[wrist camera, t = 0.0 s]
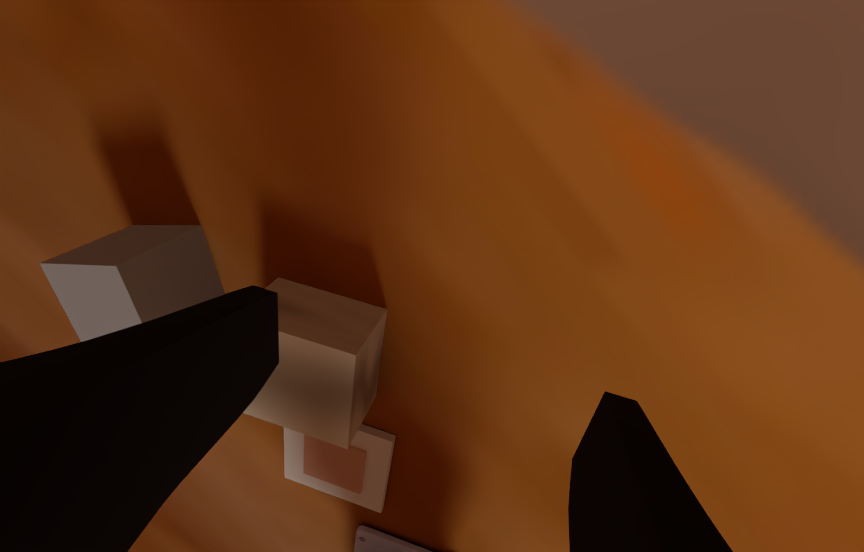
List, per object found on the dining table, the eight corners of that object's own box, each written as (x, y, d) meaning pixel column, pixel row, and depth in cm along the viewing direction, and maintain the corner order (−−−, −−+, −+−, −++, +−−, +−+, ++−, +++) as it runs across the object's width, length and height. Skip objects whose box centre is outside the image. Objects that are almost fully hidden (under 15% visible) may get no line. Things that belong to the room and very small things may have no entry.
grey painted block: (227, 300, 25) (156, 354, 20) (164, 297, 26) (83, 346, 21) (202, 224, 23) (116, 266, 18) (134, 224, 24) (39, 263, 20)
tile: (383, 506, 29) (379, 516, 29) (288, 471, 30) (283, 480, 30) (395, 435, 26) (391, 444, 25) (288, 398, 27) (281, 406, 26)
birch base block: (377, 393, 25) (347, 449, 21) (282, 362, 26) (238, 411, 22) (388, 307, 22) (355, 355, 18) (280, 275, 23) (230, 316, 19)
